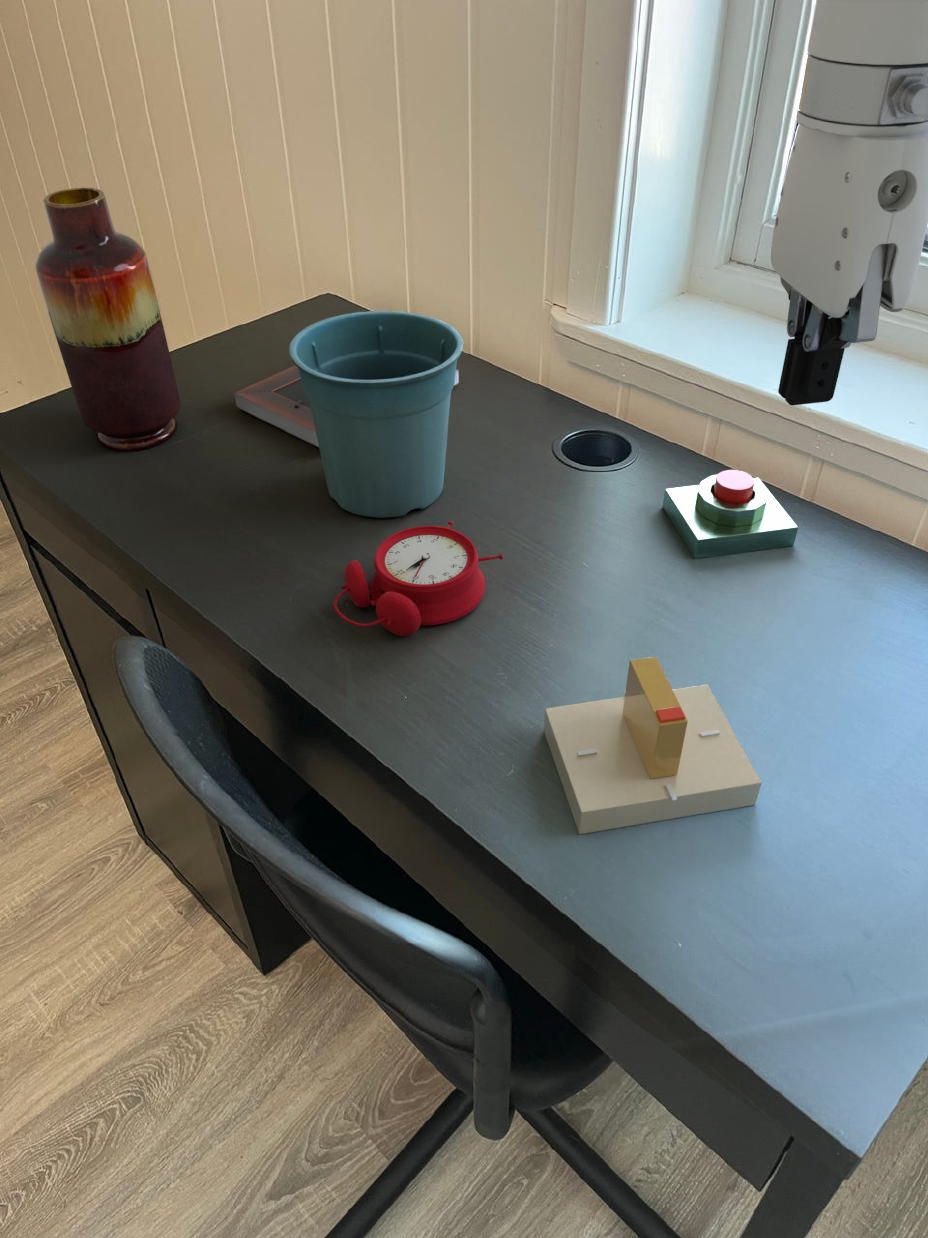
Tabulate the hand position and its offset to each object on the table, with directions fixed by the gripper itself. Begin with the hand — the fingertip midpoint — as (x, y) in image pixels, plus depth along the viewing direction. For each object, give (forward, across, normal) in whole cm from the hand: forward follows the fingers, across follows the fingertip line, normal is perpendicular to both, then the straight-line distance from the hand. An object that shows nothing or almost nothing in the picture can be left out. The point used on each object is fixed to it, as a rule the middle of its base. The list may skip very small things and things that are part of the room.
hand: (804, 397), depth 64 cm
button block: (+24, +19, -5) cm, 31 cm away
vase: (+22, +50, +54) cm, 77 cm away
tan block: (+21, -10, +12) cm, 26 cm away
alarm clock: (+23, +13, +26) cm, 38 cm away
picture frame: (+23, +53, +29) cm, 65 cm away
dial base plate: (+24, -10, +12) cm, 28 cm away
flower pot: (+23, +32, +27) cm, 48 cm away
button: (+20, +19, -5) cm, 28 cm away
